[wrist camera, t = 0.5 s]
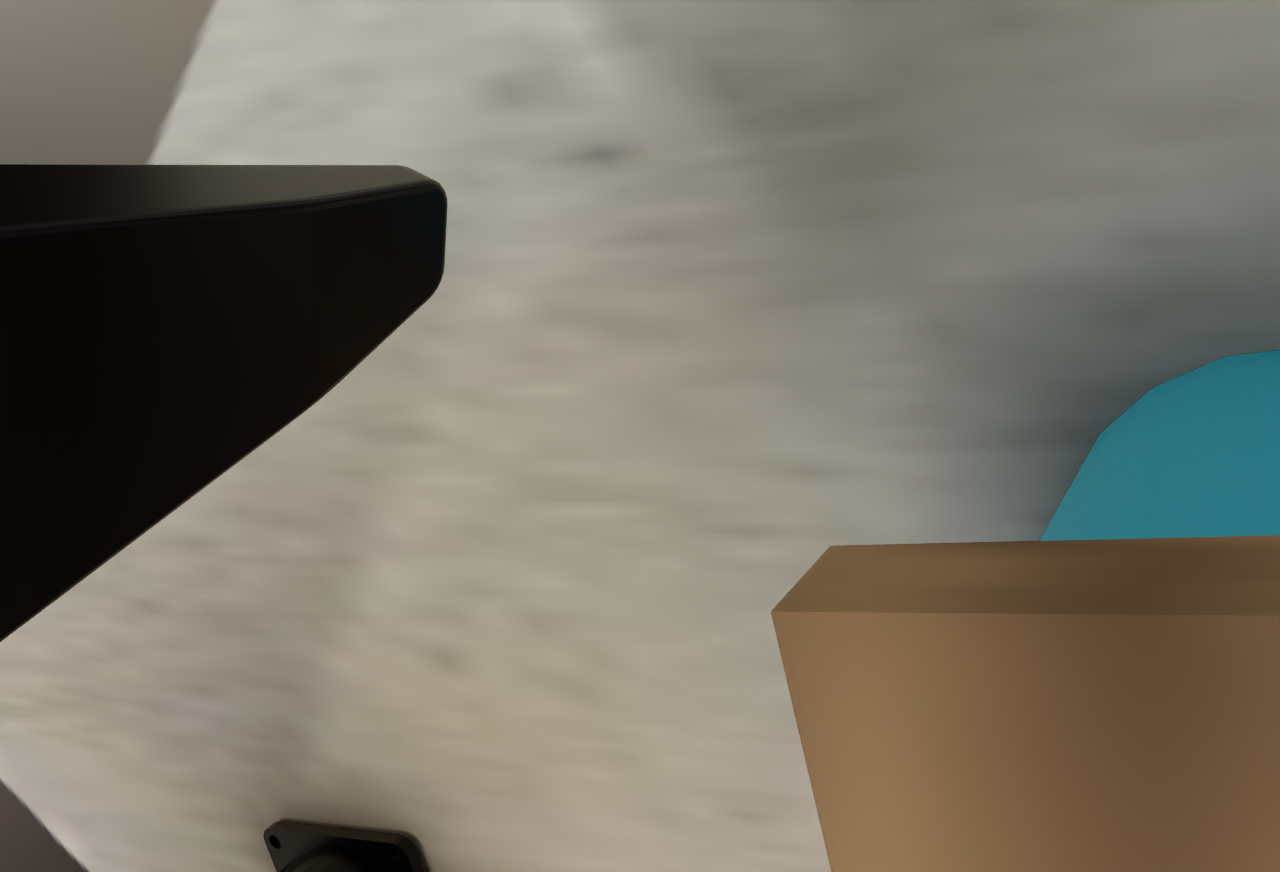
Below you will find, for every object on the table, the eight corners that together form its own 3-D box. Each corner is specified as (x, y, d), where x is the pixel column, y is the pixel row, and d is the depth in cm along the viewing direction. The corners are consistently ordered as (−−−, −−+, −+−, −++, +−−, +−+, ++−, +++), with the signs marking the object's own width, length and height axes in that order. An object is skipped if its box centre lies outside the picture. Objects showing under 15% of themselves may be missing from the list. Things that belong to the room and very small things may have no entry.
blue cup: (1375, 247, 19) (1371, 407, 13) (1715, 656, 19) (1894, 1042, 12) (837, 586, 26) (656, 801, 20) (1076, 889, 26) (971, 1212, 19)
